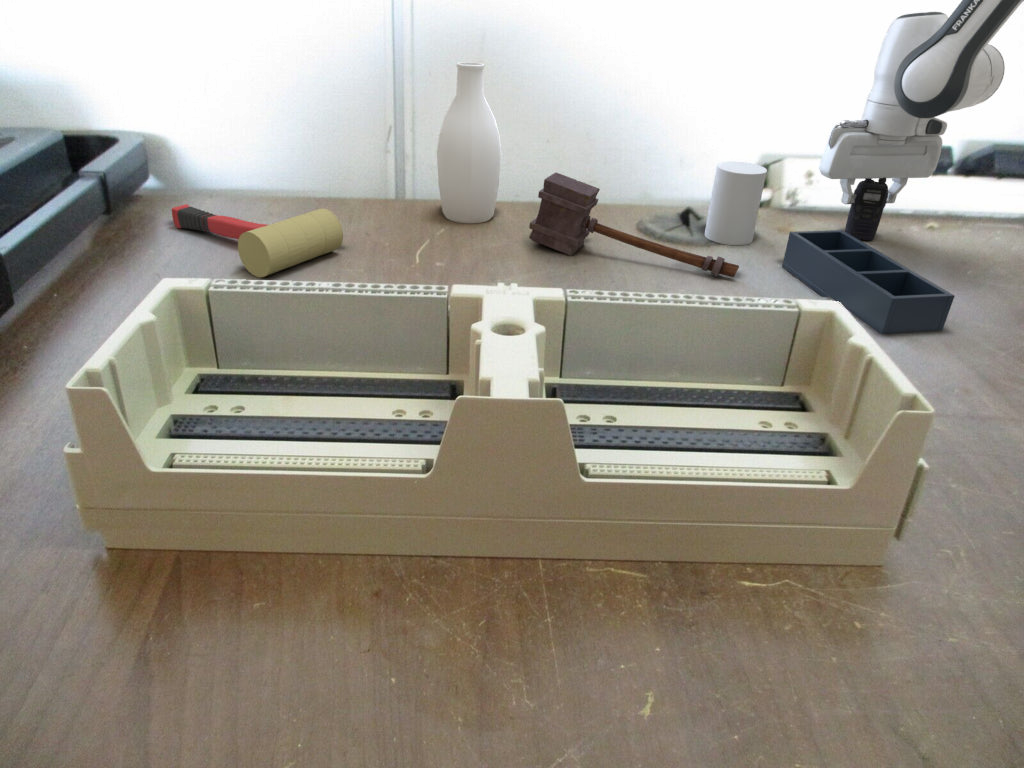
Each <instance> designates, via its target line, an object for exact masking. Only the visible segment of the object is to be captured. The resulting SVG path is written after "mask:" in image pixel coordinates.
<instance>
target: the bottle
mask: <svg viewBox="0 0 1024 768" xmlns="http://www.w3.org/2000/svg"><path fill="white" fill-rule="evenodd" d="M456 68H457V71H456V72H457V75H456V76H457V77H456V93H455V96H454V98H453V100H452V102H451V103H450V106H449V107H448V110H447V111H446V113H445V115H444V117H443V120H442V124H441V129H440V131H439V134H438V142H437V149H436V164H437V180H438V181H437V182H438V189H439V197H440V202H441V209H442V214H443V215H444V217H445V218H446V219H447V220H449V221H451V222H455V223H460V224H480V223H485V222H488V221H490V220H491V219H492V218H493V217H494V215H495V211H496V210H495V209H496V205H497V198H498V192H499V187H500V179H501V178H500V177H501V166H502V165H501V164H502V145H501V137H500V132H499V128H498V124H497V120H496V117H495V115H494V113H493V111H492V109H491V107H490V105H489V103H488V101H487V99H486V96H485V86H484V85H485V84H484V68H485V64H484V63H483V62H477V61H460V62H457V63H456Z"/></svg>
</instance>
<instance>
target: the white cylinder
mask: <svg viewBox="0 0 1024 768" xmlns="http://www.w3.org/2000/svg"><path fill="white" fill-rule="evenodd" d="M767 173H768V169H767V168H766V167H764V166H762V165H759V164H757V163H751V162H744V161H721V162H718V163H717V164H716V166H715V172H714V177H713V184H712V189H711V190H712V191H711V195H710V201H709V207H708V212H707V218H706V224H705V230H704V237H705V238H706V239H707V240H709V241H712V242H713V243H718V244H722V245H726V246H746V245H749V244H751V243H752V242H753V240H754V235H755V231H756V224H757V221H758V216H759V211H760V205H761V201H762V196H763V193H764V187H765V182H766V177H767Z"/></svg>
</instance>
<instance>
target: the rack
mask: <svg viewBox="0 0 1024 768" xmlns="http://www.w3.org/2000/svg"><path fill="white" fill-rule="evenodd" d="M786 243H787V244H786V246H785V247H786V248H785V251H784V256H783V260H782V265H781V267H782V268H783V269H784V270H785V271H787V272H788V273H790V274H791V275H792V276H794V277H795V278H797V279H798V280H799V281H801V282H802V283H803V284H804V285H805V286H807V287H808V288H810V289H811V290H813V291H814V292H815V293H817V294H818V295H819V296H821V297H822V298H831V299H832V300H834V301H835V302H837V301H839V302H841V303H842V304H843V305H844V306H845V307H846V308H845V307H844V306H843V307H844V308H845V309H846V310H847V311H850V312H851V313H852V314H853V315H855V316H856V317H857V318H859V319H860V320H862V321H863V322H864V323H866V324H867V325H868V326H870V327H871V328H873V330H875V331H877V332H878V333H879V334H881V335H889V334H890V335H891V334H907V333H922V332H923V333H925V332H941V331H943V330H944V327H945V324H946V321H947V319H948V316H949V313H950V310H951V307H952V305H953V302H954V299H955V296H956V295H955V294H952V293H951V292H949V291H948V290H946V289H944V288H942V287H941V286H940V285H937V284H936V283H935V282H933V281H930V279H927V278H926V277H924V276H922V275H921V274H919V273H917V272H915V271H913V270H912V269H910V268H908V267H906V266H905V265H904V264H901V263H900V262H898V261H896V260H895V259H892V258H891V257H889V256H888V255H886V254H885V253H883V252H881V251H879V250H877V249H875V248H874V247H872V246H870V245H869V244H867V243H865V242H864V241H863V240H859V239H857V238H855V237H853V236H851V235H850V234H848V233H846V232H845V230H843V229H838V230H837V229H836V230H835V229H833V230H832V229H831V230H801V231H799V230H797V231H789V234H788V237H787V242H786Z"/></svg>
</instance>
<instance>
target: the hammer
mask: <svg viewBox="0 0 1024 768" xmlns="http://www.w3.org/2000/svg"><path fill="white" fill-rule="evenodd" d="M600 190H601V189H600V187H597V186H593V185H591V184H589V183H586V182H584V181H581V180H577V179H575V178H572V177H570V176H567V175H564V174H562V173H559V172H554V173H552V174H550V175H549V176H547V177H546V178H544V180H543V188H542V189H540V190H539V191H538V193H537V194H538V195H537V196H538V197H537V198H539V199H541V200H540V204H539V208H538V213H537V216H536V217H535V218H534V219H532V220H531V221H530V222H529V225H528V229H530V230H531V232H530V235H529V237H528V239H530V240H531V241H533V242H535V243H538V244H541V245H543V246H545V247H547V248H550V249H553V250H555V251H558V252H560V253H563V254H565V255H567V256H569V257H570V256H572V255H573V254H575V253H576V252H577V251H578V250H579V249H580V248H581V247H582V246H584V245H585V239H587V238H588V237H589V235H590V234H594V233H597V234H600V235H602V236H605V237H608V238H610V239H613V240H615V241H618V242H620V243H624V244H627V245H629V246H632V247H635V248H638V249H640V250H644V251H647V252H649V253H653V254H656V255H658V256H662V257H665V258H667V259H671V260H674V261H676V262H680V263H682V264H686V265H689V266H693V267H695V268H699V269H701V270H702V271H704V272H708V271H709V272H710V274H711V275H713V276H714V277H715V278H718V276H719V274H720V275H723V276H727V277H731V278H735V276H736V275H737V272H738V270H739V268H740V265H738V264H734V263H731V262H727V261H725V258H724V257H722V256H720V255H719V256H717V258H716V259H714V257H713V256H711V255H707V256H702V255H699V254H697V253H696V254H695V253H691V252H688V251H685V250H681V249H677V248H674V247H671V246H667V245H664V244H661V243H658V242H654V241H651V240H648V239H645V238H641V237H639V236H635V235H634V234H633V235H632V234H630V233H626V232H623V231H621V230H617V229H616V228H613V227H609V226H606V225H604V224H601V223H598V222H599V219H597V218H595V217H591V211H592V209H593V208H594V207H596V206H597V205H598V203H599V198H597V197H598V194H599V192H600Z"/></svg>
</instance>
